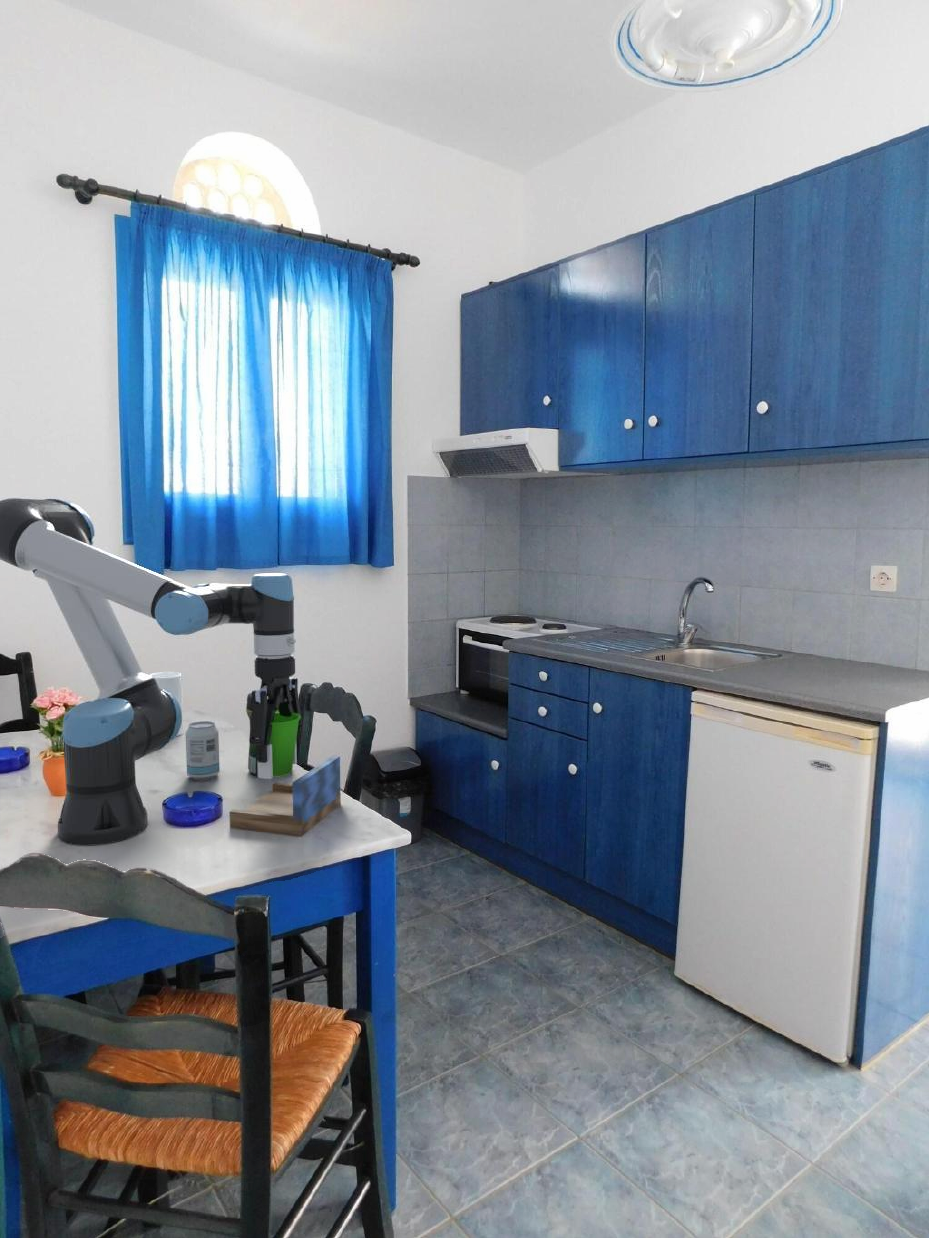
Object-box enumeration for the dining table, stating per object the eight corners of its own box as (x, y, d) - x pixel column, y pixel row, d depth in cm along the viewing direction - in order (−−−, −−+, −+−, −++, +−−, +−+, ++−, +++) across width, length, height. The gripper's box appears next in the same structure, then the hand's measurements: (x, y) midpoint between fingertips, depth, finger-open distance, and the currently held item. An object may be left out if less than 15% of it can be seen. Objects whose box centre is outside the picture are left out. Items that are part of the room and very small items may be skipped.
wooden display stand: (301, 836, 146) (300, 783, 145) (230, 827, 150) (228, 775, 149) (340, 804, 163) (339, 756, 162) (275, 797, 167) (274, 750, 165)
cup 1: (178, 728, 221) (176, 670, 219) (187, 734, 214) (185, 675, 212) (147, 732, 216) (144, 673, 214) (154, 739, 209) (152, 678, 207)
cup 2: (296, 780, 151) (294, 723, 150) (248, 779, 151) (246, 722, 150) (306, 765, 160) (305, 711, 159) (261, 765, 160) (259, 711, 159)
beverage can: (218, 770, 184) (217, 719, 182) (220, 780, 177) (219, 726, 176) (186, 773, 181) (184, 721, 180) (187, 783, 175) (185, 729, 173)
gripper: (263, 666, 142) (267, 789, 144) (317, 647, 162) (320, 756, 165) (225, 664, 144) (230, 786, 146) (284, 645, 164) (287, 753, 167)
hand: (278, 770), depth 156 cm, fingers closed on cup 2, 9 cm apart
